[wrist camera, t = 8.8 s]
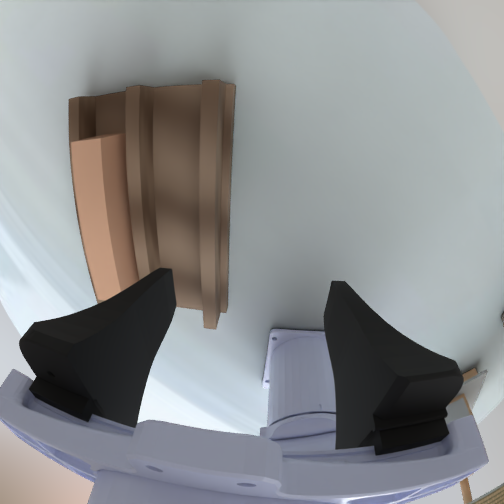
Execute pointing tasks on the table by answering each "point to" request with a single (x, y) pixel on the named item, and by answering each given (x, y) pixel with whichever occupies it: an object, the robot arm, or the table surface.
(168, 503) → the robot arm
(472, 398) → the desk lamp
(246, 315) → the table surface
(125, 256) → the light brown long block
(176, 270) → the walnut rack
